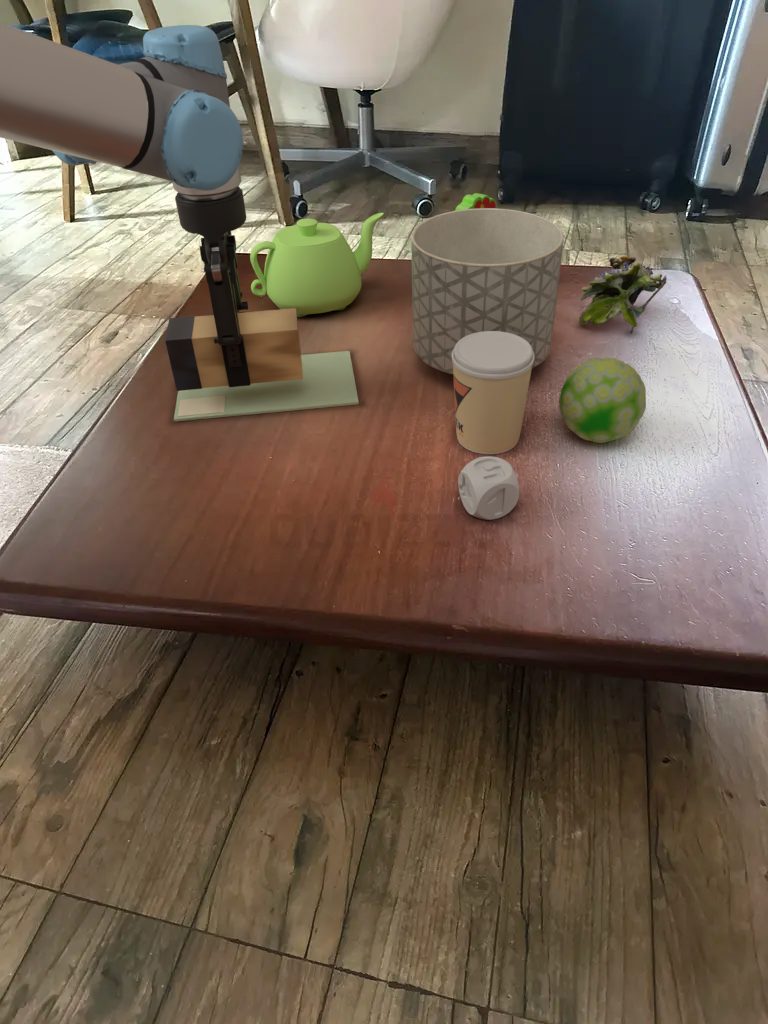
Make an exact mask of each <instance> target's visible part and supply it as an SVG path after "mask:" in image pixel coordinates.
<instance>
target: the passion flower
mask: <svg viewBox="0 0 768 1024" xmlns="http://www.w3.org/2000/svg"><path fill="white" fill-rule="evenodd" d="M608 261H609V267H612V269H611V268H608V269H609V271H608V270H604V271H603V273H598V275H599V276H597V277H595V276H594V279H593V280H592V281H589V282H588V284H589V285H590V286H588V287H582V288H581V290H582V291H583V292H584V293H583V294H582V295H581V298H580V301H581V302H582V301H584V300H585V299H587V298H588V297H592V298H591V302H590V303H589V304H588V306H587V307H586V309H585V310H584V311H583V312H582V313H581V314H580V316H579V324H580V326H582V327H583V326H585V325H588V324H591V325H593V326H598V325H602V324H605V323H606V322H608V321H610V320H611V319H613V318H615V317H616V316H618V315H619V314H620V313H622V317H623V318H624V321H625V322H626V323H627V324H628V325H630V326H631V330H630V333H629V334H631V335H632V334H633V332H634V330H635V328H637V327H638V325H637V323H638V321H639V319H640V317H641V315H642V314H643V313H644V312H645V309H646V307H647V305H648V304H649V303H650V302H651V301H652V300H653V299H654V298H655V296H656V295H657V294H658V293H659V292H660V290H662V289H663V288H664V286H665V285H666V284H667V280H668V279H667V275H664V277H663V274H662V273H659V274H657V275H654V271H652V270H653V267H650V266H649V265H647V267H646V264H645V265H643V264H641V263H640V262H637V263H635V262H636V261H637V258H636V257H630V256H626V255H621V256H620V257H619V258H616V257H610V258H609V259H608ZM662 277H663V278H662ZM643 291H645V292H648V293H652V294H651V296H650V297H649V298H648V299H647V300H646V302H644V303H643V304H641V305H640V306H637V307H636V306H635V303H636V302H637V299H638V298H639V296H640V295H641V293H642V292H643Z"/></svg>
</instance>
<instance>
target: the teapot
mask: <svg viewBox="0 0 768 1024" xmlns="http://www.w3.org/2000/svg"><path fill="white" fill-rule="evenodd" d="M383 215H384V212H377V213H375V214H373V215H370V216H369V217H368V218H367V219H365V221H364V223H363V224H362V227H361V233H360V238H359V239H360V240H359V244H358V246H357V247H356V249H355V250H354V251H353V249H352V248H351V247H352V246H350V244H349V243H348V241H347V239H346V237H345V236H344V235H343V233H342V232H341V230H340V229H339V228H338V227H336V226H335V225H333V224H332V223H328V222H318V220H317V219H314V218H302V219H299V220H298V221H296V224H294V225H289V226H285V227H283V228H281V229H279V230H277V231H276V232H275V234H274V236H273V238H272V241H269V240H265V241H264V240H263V241H261V242H259V243H257V244H256V245H254V246H253V248H252V249H251V251H250V254H249V259H250V264H251V266H252V269H253V271H254V273H255V275H256V277H257V279H254V280H252V283H251V285H250V290H251V292H252V294H253V295H255V296H256V297H266V295H267V296H268V298H269V299H270V300H271V301H272V303H273V304H274V305H275V306H276V307H278V309H291V308H296V313H297V318H303V317H305V316H308V315H315V314H323V313H329V312H332V311H343V310H344V309H346V307H347V306H349V305H351V303H353V301H355V299H356V298H357V296H358V295H359V294H360V292H361V289H362V285H363V283H362V275H363V274H364V273H366V272H367V270H368V268H369V266H370V264H371V262H372V259H373V234H374V229H375V226H376V224H377V223H378V221H379V220H380V219H381V218H382V217H383ZM264 250H267V254H266V258H265V262H264V270H263V271H262V270H261V266H260V265H259V262H258V254H259V253H261V252H262V251H264ZM258 285H261V288H257V286H258Z"/></svg>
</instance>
